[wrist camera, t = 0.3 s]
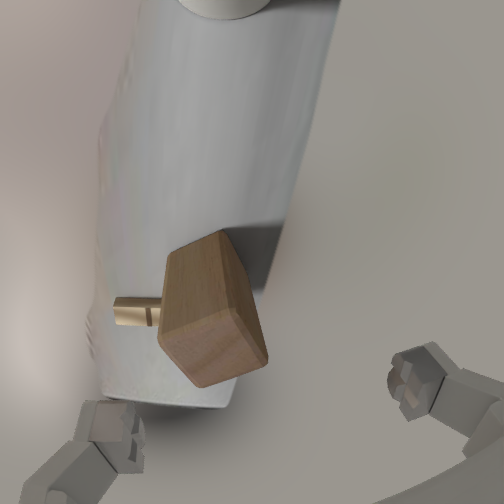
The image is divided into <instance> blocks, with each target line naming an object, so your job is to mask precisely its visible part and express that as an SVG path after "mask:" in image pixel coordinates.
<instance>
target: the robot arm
mask: <svg viewBox="0 0 504 504" xmlns="http://www.w3.org/2000/svg"><path fill="white" fill-rule="evenodd" d="M179 1H180V2H181V3H182V4H183V5H184V6H185V7H186V8H187V9H189V10H190V11H192V12H194V13H196V14H198V15H200V16H203V17H207V18H211V19H218V20H231V19H238V18H242V17H246V16H248V15H251V14H253V13H255V12H257V11H259V10H260V9H262V8H263V7H264V6H266V5H267V4H268V3H269V2H270V1H271V0H179ZM391 364H392V365H393V366H394V367H393V368H392V369H391V371H390V372H389V374H388V378H387V383H388V389H389V392H390V394H391V396H392V397H393V399H395V400H397V401H399V402H400V407H399V408H400V410H401V412H402V413H403V415H404V416H405V418H406V419H407V421H408V422H409V421H411V420H414V419H417V418H419V417H422V416H424V415H427V414H429V413H430V414H429V415H430V416H432V417H433V418H435V419H437V420H439V421H440V422H442V423H444V424H445V425H447V426H449V427H451V428H452V429H454V430H456V431H458V432H460V433H461V434H463V435H465V436H467V437H468V438H470V439H469V440H468V442H467V443H466V445H465V446H464V448H463V450H462V452H463V453H464V455H465V456H466V458H467V459H466V460H464V461H463V462H461V463H459V464H457V465H455V466H454V467H452V468H450V469H448V470H446V471H445V472H443V473H441V474H439V475H437V476H435V477H433V478H431V479H429V480H427V481H425V482H423V483H421V484H418V485H416V486H414V487H412V488H410V489H407V490H405V491H403V492H401V493H398V494H396V495H393V496H391V497H388V498H386V499H384V500H381V501H378V502H376V503H373V504H504V383H502V382H500V381H497V380H494V379H491V378H489V377H485V376H483V375H480V374H477V373H475V372H472V371H469V370H466V369H464V368H463V369H461V370H460V369H459V368H458V367H457V365H456V364H455V363H454V362H453V361H452V360H451V359H450V358H449V357H448V356H447V354H446V353H445V352H444V351H443V350H442V349H441V348H440V347H439V346H438V345H437V344H436V343H435V342H429V343H427V344H424V345H421V346H417V347H414V348H412V349H409V350H406V351H402V352H399V353H396V354H395V355H394V356H393V358H392V362H391ZM144 445H145V429H144V425H143V422H142V420H141V418H140V417H139V416H137V415H136V414H135V406H134V404H133V402H132V401H130V400H109V401H108V400H105V401H103V400H102V401H101V400H100V401H88V400H86V401H85V402H84V403H83V404H82V407H81V411H80V415H79V418H78V422H77V426H76V429H75V433H74V437H73V441H68V442H67V443H66V444H65V445H64V446H62V447H61V448H60V449H59V450H58V451H57V452H56V453H55V454H54V455H53V456H52V457H51V458H50V459H49V460H48V461H47V462H46V463H45V464H43V465H42V466H41V467H40V468H39V469H38V470H37V471H36V472H35V473H34V474H33V475H32V476H31V477H30V478H29V479H28V480H26V481H25V482H24V484H23V489H22V492H21V496H20V501H19V504H98V502H99V501H100V499H101V498H102V497H103V495H104V494H105V493H106V491H107V490H108V488H109V487H110V485H111V484H112V483H113V481H114V480H115V479H116V477H117V476H118V474H128V473H129V474H133V473H143V469H144V455H143V453H142V452H141V449H142V447H143V446H144Z"/></svg>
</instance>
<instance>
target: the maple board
mask: <svg viewBox="0 0 504 504" xmlns="http://www.w3.org/2000/svg"><path fill="white" fill-rule="evenodd" d="M161 301H162V299H141V298H116V299H115V302H114V305H113V309H114V314H115V319H116V325H137V326H159V318H160V310H161Z"/></svg>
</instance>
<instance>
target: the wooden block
mask: <svg viewBox="0 0 504 504" xmlns="http://www.w3.org/2000/svg"><path fill="white" fill-rule="evenodd" d="M157 339H158V343H159V345H160V347H161V348H162V349H163V351H164V352H165V353H166V354H167V355H168V356H169V358H170V359H171V360H172V361H173V362H174V363H175V364H176V365H177V366H178V368H179V369H180V370H181V371H182V372H183V373H184V374H185V375H186V376H187V377H188V379H189V380H190V381H191V382H192V383H193V384H194V385H195V386H196V387H198V388H205V387H208V386H211V385H214V384H217V383H220V382H223V381H226V380H229V379H232V378H234V377H237V376H240V375H243V374H246V373H248V372H251V371H254V370H256V369H259V368H262V367H264V366H265V365H267V364H268V353H267V349H266V345H265V341H264V337H263V333H262V330H261V326H260V322H259V318H258V314H257V310H256V306H255V302H254V298H253V294H252V290H251V286H250V282H249V278H248V274H247V272H246V270H245V269H244V267H243V265H242V263H241V261H240V259H239V257H238V255H237V253H236V251H235V249H234V247H233V245H232V243H231V241H230V239H229V237H228V235H227V234H226V233H225V232H224V231H217V232H215V233H213V234H211V235H208V236H206V237H204V238H202V239H200V240H197V241H195V242H193V243H191V244H189V245H186V246H184V247H182V248H180V249H178V250H176V251H173V252H171V253H170V254H169V255H168V258H167V264H166V271H165V279H164V286H163V294H162V301H161V310H160V318H159V327H158V337H157Z"/></svg>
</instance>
